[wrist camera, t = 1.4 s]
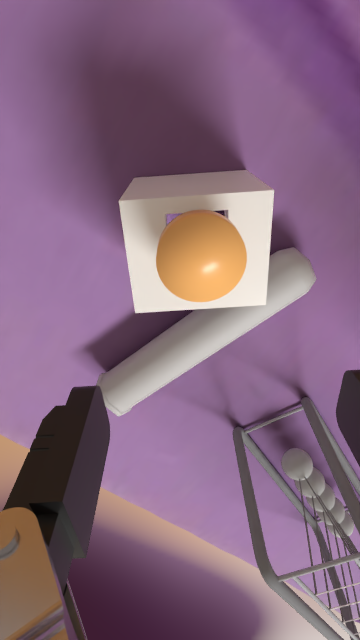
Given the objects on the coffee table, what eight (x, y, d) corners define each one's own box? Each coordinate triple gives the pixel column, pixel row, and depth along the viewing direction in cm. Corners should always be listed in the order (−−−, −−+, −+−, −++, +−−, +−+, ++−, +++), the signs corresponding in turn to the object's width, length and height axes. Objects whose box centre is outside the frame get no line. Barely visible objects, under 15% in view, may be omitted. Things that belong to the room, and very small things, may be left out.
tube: (297, 237, 29) (88, 386, 36) (332, 288, 29) (120, 424, 37) (289, 235, 34) (107, 366, 41) (319, 279, 34) (135, 400, 42)
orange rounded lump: (238, 199, 21) (248, 212, 18) (236, 276, 24) (245, 299, 21) (154, 205, 21) (151, 219, 18) (162, 281, 24) (160, 304, 21)
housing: (246, 169, 29) (274, 190, 21) (243, 259, 33) (265, 304, 25) (134, 177, 29) (118, 200, 21) (144, 265, 33) (135, 313, 25)
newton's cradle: (228, 421, 45) (257, 579, 29) (304, 388, 42) (378, 543, 27) (313, 527, 58) (363, 674, 42) (375, 506, 55) (452, 656, 40)
